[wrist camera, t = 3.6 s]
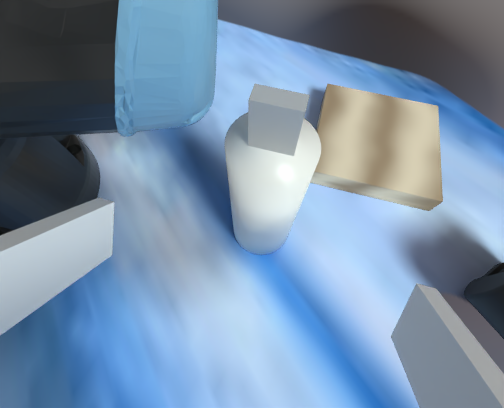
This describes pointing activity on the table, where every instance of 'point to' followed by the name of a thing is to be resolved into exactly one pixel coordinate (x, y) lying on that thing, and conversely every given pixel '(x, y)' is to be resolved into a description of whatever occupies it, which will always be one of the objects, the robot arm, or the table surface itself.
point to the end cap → (489, 297)
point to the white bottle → (269, 167)
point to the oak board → (379, 147)
